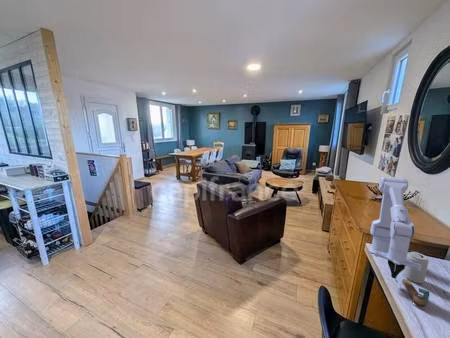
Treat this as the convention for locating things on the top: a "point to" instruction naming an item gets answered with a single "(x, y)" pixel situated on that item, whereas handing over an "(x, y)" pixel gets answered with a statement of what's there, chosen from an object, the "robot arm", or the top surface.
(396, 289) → the top surface
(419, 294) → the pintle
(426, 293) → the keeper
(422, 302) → the latch bar
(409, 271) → the beverage can
